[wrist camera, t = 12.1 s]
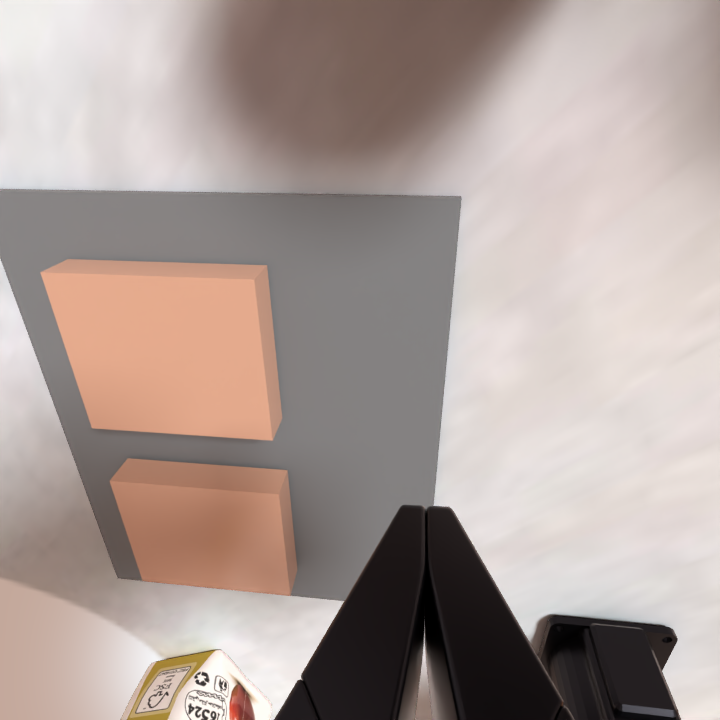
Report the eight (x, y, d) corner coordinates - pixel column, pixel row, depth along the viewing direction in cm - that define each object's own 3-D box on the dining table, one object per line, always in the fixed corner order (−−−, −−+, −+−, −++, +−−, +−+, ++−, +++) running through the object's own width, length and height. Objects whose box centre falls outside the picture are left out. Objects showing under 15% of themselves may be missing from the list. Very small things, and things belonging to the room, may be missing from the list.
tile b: (272, 440, 20) (91, 428, 21) (283, 416, 22) (114, 405, 23) (254, 279, 17) (40, 272, 18) (268, 263, 19) (70, 258, 19)
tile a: (290, 595, 25) (142, 581, 26) (298, 567, 27) (158, 553, 28) (278, 494, 22) (109, 480, 23) (288, 468, 23) (129, 456, 24)
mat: (423, 602, 28) (423, 609, 27) (121, 572, 29) (117, 578, 29) (460, 196, 17) (461, 198, 17) (-16, 188, 19) (-25, 190, 18)
